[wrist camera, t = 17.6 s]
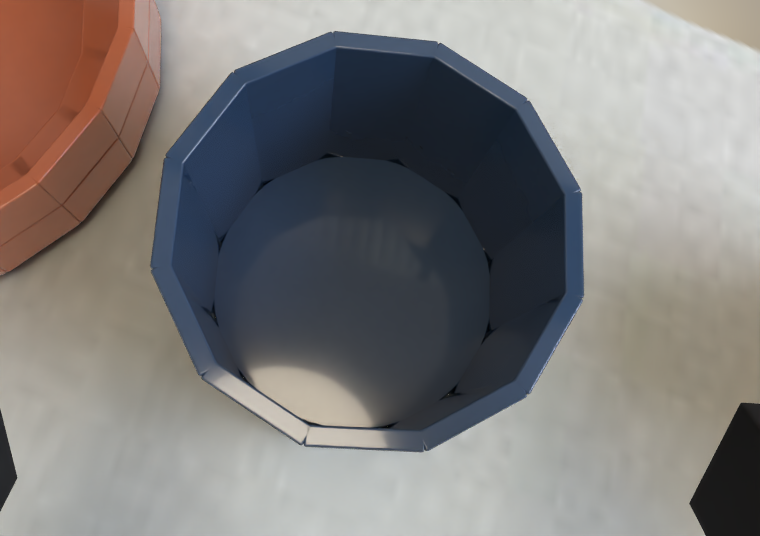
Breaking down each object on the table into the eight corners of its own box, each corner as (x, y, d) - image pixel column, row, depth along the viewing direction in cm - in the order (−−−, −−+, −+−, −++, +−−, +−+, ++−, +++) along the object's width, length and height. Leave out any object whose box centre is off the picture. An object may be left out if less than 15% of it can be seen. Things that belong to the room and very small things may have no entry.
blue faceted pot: (140, 330, 24) (60, 284, 16) (314, 99, 26) (317, -37, 19) (399, 504, 23) (445, 542, 16) (549, 252, 26) (653, 177, 18)
